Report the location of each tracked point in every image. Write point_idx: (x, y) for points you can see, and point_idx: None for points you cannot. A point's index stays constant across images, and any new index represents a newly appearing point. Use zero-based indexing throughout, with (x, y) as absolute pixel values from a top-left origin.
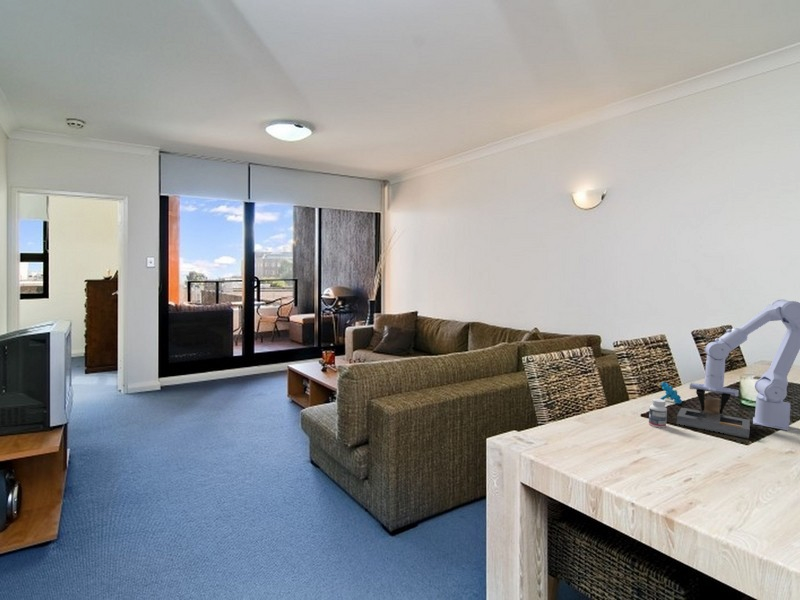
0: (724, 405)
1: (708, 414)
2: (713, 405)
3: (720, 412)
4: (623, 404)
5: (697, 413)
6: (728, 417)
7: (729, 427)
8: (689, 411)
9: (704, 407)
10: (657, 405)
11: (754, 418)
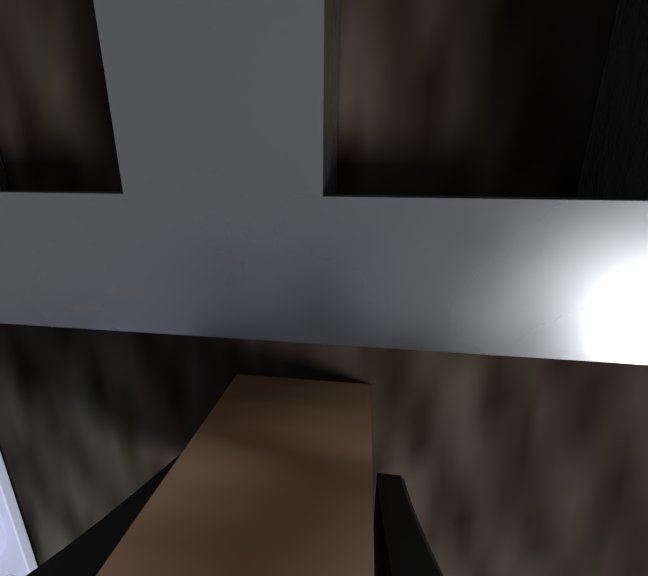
0: (44, 563)
1: (297, 203)
2: (224, 533)
3: None
4: None
5: (471, 197)
6: (38, 241)
7: None
8: (622, 200)
9: (370, 487)
10: None
11: (16, 560)
